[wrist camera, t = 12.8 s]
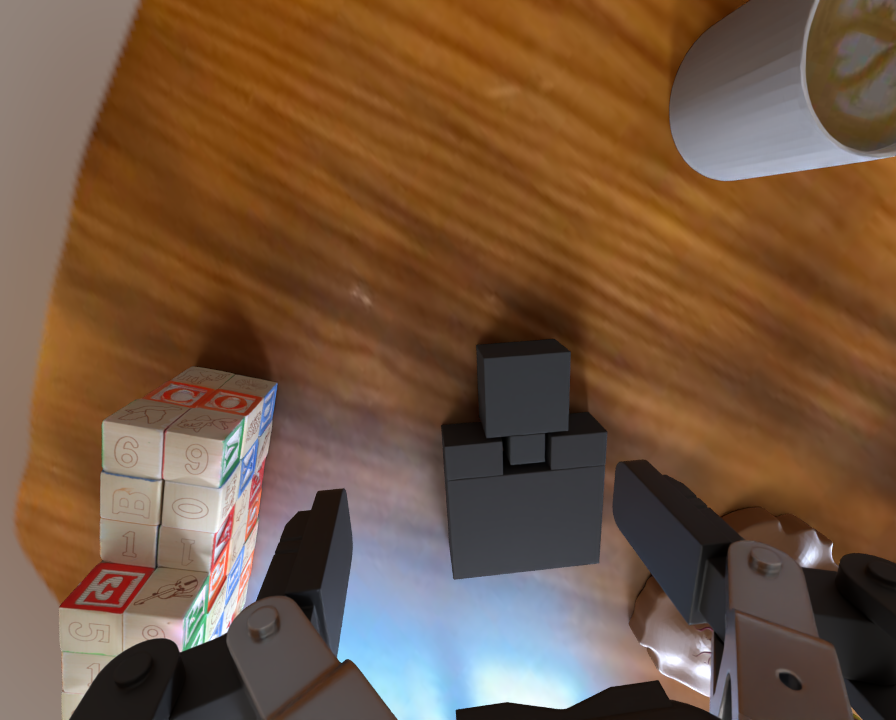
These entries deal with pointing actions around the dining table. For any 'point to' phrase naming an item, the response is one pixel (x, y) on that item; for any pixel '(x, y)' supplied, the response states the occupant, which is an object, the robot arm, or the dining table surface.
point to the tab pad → (523, 395)
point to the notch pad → (524, 500)
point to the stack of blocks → (171, 521)
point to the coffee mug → (788, 89)
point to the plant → (689, 646)
